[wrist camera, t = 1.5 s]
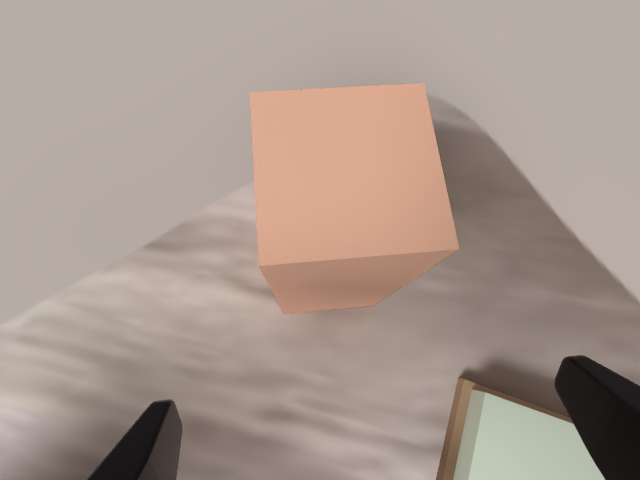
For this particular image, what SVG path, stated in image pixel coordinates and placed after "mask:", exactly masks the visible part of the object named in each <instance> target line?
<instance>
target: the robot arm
mask: <svg viewBox="0 0 640 480" xmlns="http://www.w3.org/2000/svg"><path fill="white" fill-rule="evenodd" d="M555 388H556V391H557V393H558V395H559V397H560V399H561V401H562V403H563V405H564V407H565V408H566V410H567V412H568V414H569V416H570V418H571V420H572V422H573V424H574V426H575V428H576V430H577V432H578V433H579V435H580V437H581V439H582V441H583V443H584V445H585V447H586V449H587V450H588V452H589V454H590V456H591V458H592V459H593V461H594V463H595V464H596V466H597V467H598V469H599V471H600V472H601V474H602V475H603V477H604V478H605V480H640V386H639V385H637V384H635V383H633V382H631V381H630V380H628V379H626V378H624V377H622V376H621V375H619V374H617V373H615V372H613V371H611V370H610V369H608V368H606V367H604V366H602V365H601V364H599V363H597V362H595V361H593V360H591V359H590V358H588V357H586V356H582V355H578V356H568V357H565V358H564V359H563V360H562V363H561V365H560V368H559V370H558V373H557V375H556V378H555ZM181 437H182V423H181V420H180V417H179V414H178V411H177V408H176V405H175V403H174V401H173V400H161V401H155V402H153V403H152V404H150V406H149V407H148V408H147V409H146V410H145V411H144V413H143V414H142V415H141V416H140V417H139V419H138V420H137V421H136V422H135V423H134V425H133V426H132V427H131V428H130V429H129V430H128V432H127V433H126V434H125V435H124V436H123V438H122V439H121V440H120V441H119V442H118V444H117V445H116V446H115V447H114V448H113V449H112V451H111V452H110V453H109V454H108V455H107V457H106V458H105V459H104V460H103V461H102V463H101V464H100V465H99V466H98V467H97V468H96V470H95V471H94V472H93V473H92V474H91V476H90V477H89V478H88V479H87V480H176V476H177V468H178V460H179V453H180V445H181Z"/></svg>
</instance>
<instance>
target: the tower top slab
mask: <svg viewBox="0 0 640 480" xmlns="http://www.w3.org/2000/svg"><path fill="white" fill-rule="evenodd" d="M453 480H605V478H604V477H603V475H602V474H601V472H600V471H599V469H598V467H597V466H596V464H595V463H594V461H593V459H592V458H591V456H590V454H589V452H588V450H587V449H586V447H585V445H584V443H583V441H582V439H581V437H580V435H579V433H578V432H577V430H576V428H575V426H574V424H572V423H570V422H567V421H564V420H561V419H558V418H556V417H553V416H550V415H547V414H544V413H542V412H539V411H536V410H533V409H530V408H528V407H525V406H522V405H519V404H516V403H514V402H511V401H508V400H505V399H502V398H500V397H497V396H494V395H491V394H488V393H486V392H481V391H477V390H473V389H472V390H471V395H470V400H469V405H468V410H467V415H466V419H465V424H464V429H463V434H462V439H461V444H460V449H459V454H458V459H457V463H456V468H455V473H454V478H453Z"/></svg>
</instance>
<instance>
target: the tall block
mask: <svg viewBox="0 0 640 480" xmlns="http://www.w3.org/2000/svg"><path fill="white" fill-rule="evenodd" d="M250 103H251V122H252V142H253V162H254V182H255V201H256V221H257V240H258V260H259V267H260V269H261V271H262V273H263V275H264V277H265V279H266V281H267V283H268V285H269V287H270V289H271V290H272V292H273V294H274V296H275V298H276V300H277V302H278V304H279V306H280V308H281V310H282V312H283V314H293V313H304V312H314V311H325V310H335V309H346V308H357V307H367V306H374V305H375V304H377V303H378V302H380V301H381V300H383V299H384V298H386V297H387V296H389V295H390V294H392V293H393V292H395V291H396V290H398V289H399V288H401V287H402V286H404V285H406V284H407V283H409V282H410V281H412V280H413V279H415V278H416V277H418V276H419V275H421V274H422V273H424V272H425V271H427V270H428V269H430V268H431V267H433V266H434V265H436V264H437V263H439V262H440V261H442V260H443V259H445V258H447V257H448V256H450V255H451V254H453V253H454V252H456V251H457V250H459V244H458V240H457V235H456V230H455V226H454V221H453V216H452V212H451V207H450V202H449V198H448V193H447V188H446V183H445V179H444V174H443V169H442V165H441V160H440V155H439V151H438V146H437V141H436V137H435V132H434V127H433V123H432V118H431V113H430V109H429V104H428V99H427V95H426V90H425V85H424V83H415V84H395V85H376V86H357V87H337V88H320V89H299V90H280V91H261V92H250Z"/></svg>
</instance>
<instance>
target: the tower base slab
mask: <svg viewBox="0 0 640 480" xmlns="http://www.w3.org/2000/svg"><path fill="white" fill-rule="evenodd" d="M472 389H473V390H477V391H481V392H486V393H488V394H491V395H494V396H497V397H500V398H502V399H505V400H508V401H511V402H514V403H516V404H519V405H522V406H525V407H528V408H530V409H533V410H536V411H539V412H542V413H544V414H547V415H550V416H553V417H556V418H558V419H561V420H564V421H567V422H570V423H572V424H573V422H572V420H571V418H570V417H567V416H565V415H562V414H559V413H556V412H554V411H551V410H548V409H545V408H543V407H540V406H537V405H534V404H532V403H529V402H526V401H523V400H521V399H518V398H515V397H512V396H510V395H507V394H504V393H501V392H499V391H496V390H493V389H490V388H488V387H485V386H482V385H479V384H476V383H474V382H471V381H468V380H465V379H461V378H458V382H457V387H456V391H455V396H454V400H453V405H452V409H451V414H450V418H449V423H448V428H447V432H446V437H445V441H444V446H443V450H442V455H441V459H440V464H439V468H438V473H437V477H436V480H453V478H454V473H455V468H456V463H457V459H458V454H459V449H460V444H461V439H462V434H463V429H464V424H465V419H466V415H467V410H468V405H469V400H470V395H471V390H472Z"/></svg>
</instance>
